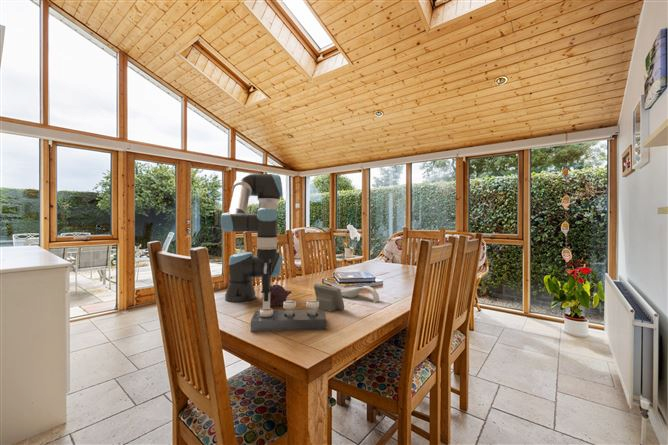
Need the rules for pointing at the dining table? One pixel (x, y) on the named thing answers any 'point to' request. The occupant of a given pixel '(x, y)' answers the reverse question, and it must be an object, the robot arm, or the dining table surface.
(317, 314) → the knob plate
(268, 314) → the left knob
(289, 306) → the middle knob
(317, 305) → the right knob
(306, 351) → the dining table surface
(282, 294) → the pine cone
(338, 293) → the digital clock
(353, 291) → the grey curved piece
